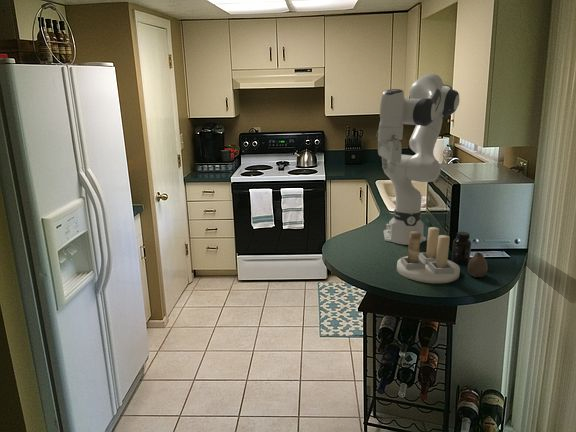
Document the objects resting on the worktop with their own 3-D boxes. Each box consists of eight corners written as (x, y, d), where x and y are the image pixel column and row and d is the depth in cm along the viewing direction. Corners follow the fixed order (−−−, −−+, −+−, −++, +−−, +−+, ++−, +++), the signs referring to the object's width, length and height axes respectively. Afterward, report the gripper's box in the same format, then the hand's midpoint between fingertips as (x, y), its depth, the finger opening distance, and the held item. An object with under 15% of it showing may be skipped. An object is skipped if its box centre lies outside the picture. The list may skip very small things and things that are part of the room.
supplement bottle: (447, 260, 198) (450, 231, 194) (460, 257, 200) (463, 230, 197) (459, 265, 192) (462, 236, 188) (472, 263, 194) (476, 234, 191)
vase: (472, 271, 186) (475, 249, 184) (489, 276, 181) (492, 254, 179) (463, 275, 182) (465, 253, 179) (480, 280, 177) (483, 258, 174)
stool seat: (389, 261, 195) (392, 224, 191) (445, 260, 197) (449, 223, 193) (407, 283, 173) (410, 242, 169) (469, 282, 175) (474, 241, 171)
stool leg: (405, 263, 186) (408, 231, 183) (416, 263, 186) (418, 231, 183) (408, 267, 182) (411, 234, 179) (419, 267, 182) (422, 234, 179)
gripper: (407, 137, 171) (404, 175, 174) (391, 131, 190) (389, 166, 194) (389, 137, 170) (387, 176, 174) (375, 131, 190) (373, 166, 194)
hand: (388, 171), depth 184 cm, fingers open, 8 cm apart
